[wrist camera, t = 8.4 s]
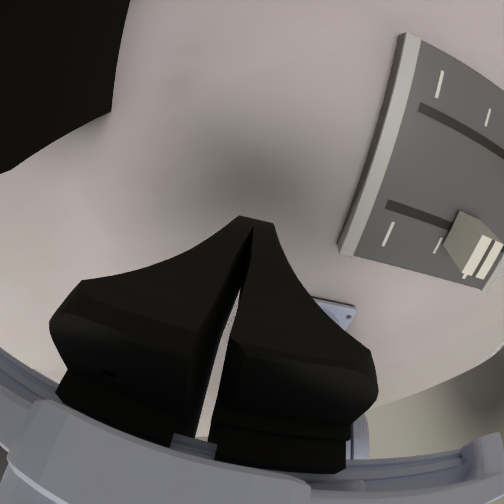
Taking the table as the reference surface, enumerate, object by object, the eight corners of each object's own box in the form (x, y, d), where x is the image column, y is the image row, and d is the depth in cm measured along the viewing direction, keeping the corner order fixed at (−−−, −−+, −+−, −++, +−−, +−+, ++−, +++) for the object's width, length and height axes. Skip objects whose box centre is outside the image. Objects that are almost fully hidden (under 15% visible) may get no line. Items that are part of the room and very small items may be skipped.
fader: (464, 252, 18) (484, 280, 15) (442, 245, 18) (462, 273, 15) (481, 220, 16) (504, 245, 13) (459, 210, 16) (482, 235, 14)
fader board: (481, 283, 21) (487, 292, 20) (337, 243, 21) (339, 254, 20) (546, 133, 12) (556, 137, 11) (398, 35, 12) (406, 31, 11)
